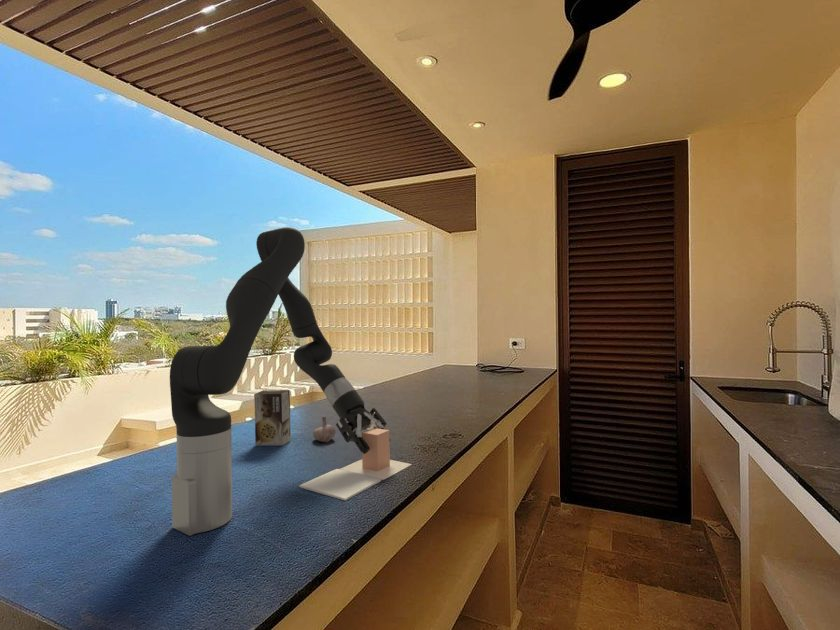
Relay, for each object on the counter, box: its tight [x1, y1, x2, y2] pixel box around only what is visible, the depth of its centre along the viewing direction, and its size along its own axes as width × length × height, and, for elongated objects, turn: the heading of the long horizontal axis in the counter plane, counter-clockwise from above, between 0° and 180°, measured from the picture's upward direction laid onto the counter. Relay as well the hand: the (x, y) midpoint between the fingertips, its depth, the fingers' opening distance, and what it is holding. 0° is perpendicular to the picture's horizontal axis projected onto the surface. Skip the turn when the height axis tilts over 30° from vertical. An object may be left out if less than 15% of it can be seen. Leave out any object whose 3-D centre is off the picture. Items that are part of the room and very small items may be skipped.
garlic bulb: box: [312, 415, 336, 443], centre depth 131 cm, size 8×7×8 cm
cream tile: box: [340, 458, 413, 481], centre depth 105 cm, size 12×14×1 cm
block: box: [361, 427, 391, 471], centre depth 105 cm, size 5×5×9 cm
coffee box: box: [253, 389, 292, 447], centre depth 129 cm, size 9×6×16 cm
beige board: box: [298, 468, 382, 501], centre depth 94 cm, size 12×14×1 cm
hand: (378, 447), depth 105 cm, fingers open, 8 cm apart
